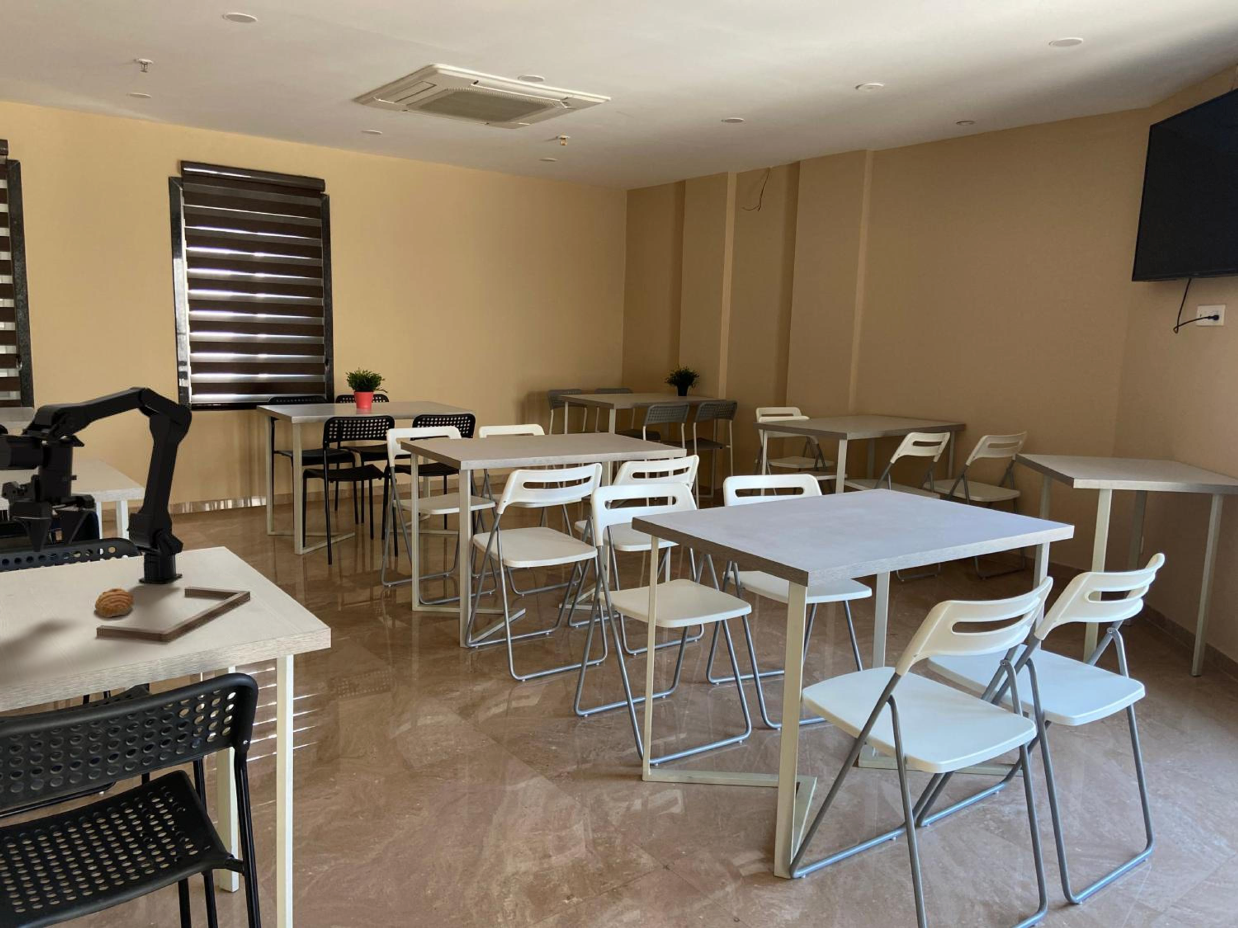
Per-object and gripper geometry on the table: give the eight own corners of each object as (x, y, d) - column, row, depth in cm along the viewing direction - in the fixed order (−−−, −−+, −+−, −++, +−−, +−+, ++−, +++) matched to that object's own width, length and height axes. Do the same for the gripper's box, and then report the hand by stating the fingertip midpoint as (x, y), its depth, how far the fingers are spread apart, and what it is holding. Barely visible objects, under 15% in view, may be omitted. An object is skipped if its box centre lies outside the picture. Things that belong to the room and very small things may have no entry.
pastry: (136, 616, 175) (135, 597, 175) (96, 621, 172) (95, 602, 171) (132, 603, 183) (131, 585, 183) (94, 608, 180) (93, 589, 179)
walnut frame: (189, 593, 190) (188, 586, 190) (250, 598, 188) (250, 591, 188) (96, 635, 164) (96, 627, 163) (166, 641, 162) (166, 633, 161)
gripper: (43, 463, 185) (39, 538, 185) (-20, 469, 166) (-23, 552, 167) (97, 467, 185) (94, 542, 186) (41, 474, 166) (38, 557, 167)
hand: (51, 548), depth 176 cm, fingers open, 9 cm apart
